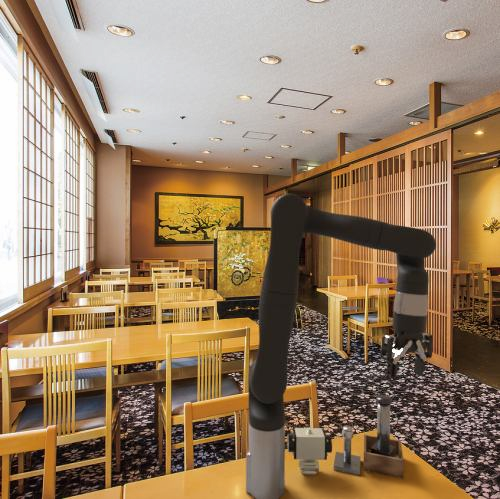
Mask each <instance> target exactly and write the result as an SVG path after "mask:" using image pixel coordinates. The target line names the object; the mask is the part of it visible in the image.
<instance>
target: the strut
mask: <svg viewBox="0 0 500 499" xmlns="http://www.w3.org/2000/svg"><path fill="white" fill-rule="evenodd" d="M375 402H376V403H377V405H376V406H377V408H376V410H377V411H376V418H377V420H376V436H377V441H376V442H375V443H374V445H373V446H372V447H371V453H373V454H378V455H384V456H389V457H394V458H395V455H396V447H395V446H393V445H390V439H391V436H390V435H391V405H392V403H393V399H392V397H391V396H390V395H386V394H377V395H376V396H375Z"/></svg>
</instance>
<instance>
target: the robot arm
mask: <svg viewBox="0 0 500 499" xmlns="http://www.w3.org/2000/svg"><path fill="white" fill-rule="evenodd" d="M304 234H313V235H317V236H323V237H328V238H332V239H334V240H339V241H342V242H346V243H348V244H353V245H357V246H360V247H365V248H368V249H371V250H373V249H374V250H376V251H387V252H391V253H395V256H396V257H395V258H396V267H397V277H396V289H395V295H394V302H393V315H392V328H393V331H394V332H393V335H388V334H385V333H384V334H383V336H382V341H381V349H380V359H381V360H384V361H386V362H387V364H386V375H387V377H388V378H390V379H392V380H396V379H397V377H398V376H397V375H398V374H397V373H398V364H397V363H398V361H400V359H401V358H403V357H404V355H405V354H410V353H411V354H413V356H414V366H413V373H414V375H416V376H419V377H422V376H424V372H425V362H426V361H427V359H431V358H432V357H433V336H434V335H433V334H430V333H426V332H427V322H428V309H429V300H428V292H429V291H428V290H429V283H430V282H429V279H430V278H429V274H428V272H427V271H426V268H425V259H426V258H428V257H430V256H432V254H434V252H435V250H436V248H437V242H436V239H435V237H434V235H432V233H430V232H429V231H427V230H425V229H422V228H418V227H411V226H406V225H405V226H404V225H397V224H393V223H388V222H385V221H381V220H378V219H372V218H368V217H363V216H357V215H348V214H341V213H336V212H335V213H334V212H328V211H325V210H321V209H317V208H314V207H312V206H310V205H307V203H306V202H305V200H304V199H303V198H302V197H300V196H299V195H297V194H295V193H285V194H283V195H280V196H279V197H278V198H276V199H275V201H274V202H273V203H272V206H271V209H270V238H269V239H270V240H269V241H270V242H269V248H268V249H269V250H268V251H269V252H268V255H267V259H266V264H265V266H264V272H263V277H262V282H261V285H260V286H261V289H260V293H259V294H260V296H259V302H258V303H259V304H258V336H259V338H258V349H257V355H256V359H255V360H254V361H253V362H252V363H251V365H250V367H249V370H248V450H247V452H246V456H245V492H246V493H248V494H249V495H251V496H252V497H253V498H255V499H280V498H282V496H283V495H284V494H285V490H286V489H285V485H286V482H285V480H286V479H285V475H286V472H285V471H286V470H285V468H286V466H285V465H286V459H285V458H286V451H285V450H286V411H285V402H284V394H286V390H287V386H288V360H289V357H288V356H289V348H290V347H289V346H290V342H291V341H290V340H291V336H292V331H293V326H294V320H295V315H296V313H295V312H296V310H297V302H298V301H297V300H298V294H299V282H300V280H299V278H300V250H301V245H302V239H303V236H304Z"/></svg>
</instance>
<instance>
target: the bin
mask: <svg viewBox="0 0 500 499" xmlns="http://www.w3.org/2000/svg"><path fill="white" fill-rule="evenodd" d="M363 435H364V436H363V437H364V438H363V471H364V472H368V473H373V474H378V475H383V476H387V477H391V478H396V479H402V480H403V479H404V475H405V474H404V470H405V469H404V466H405V464H404V461H405V460H404V454H403V448H402V441H401V440H400V439H396V438H395V439H394V438H390V445H393V446H395V447H396V455H395V458H394V457H389V456H384V455H378V454H373V453H371V447H372V446H373V445H374V443H375V442H376V441H377V435H373V434H372V435H371V434H363Z"/></svg>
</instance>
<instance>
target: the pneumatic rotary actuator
mask: <svg viewBox="0 0 500 499" xmlns="http://www.w3.org/2000/svg"><path fill="white" fill-rule="evenodd" d="M291 430H292V431H290V434H287V435H286V438H287V440H286V444H287V446H286V447H287V452H288V453H292V456H293V460H299V461H298V468H299V471H301V474H302V475H304V476H305V475H306V476H309V475H310V476H315V475H317V474H318V473H317V471H320V464H319V461H324V460H325V461H327V460H328V457H329V454H331V453H332V452H333V442H332V437H331V435H330V434H327V433H326V431H325V428H323V427H322V428H321V427H317V428H316V427H315V428H314V427H310V426H309V427H306V426H304V427H292V429H291Z"/></svg>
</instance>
